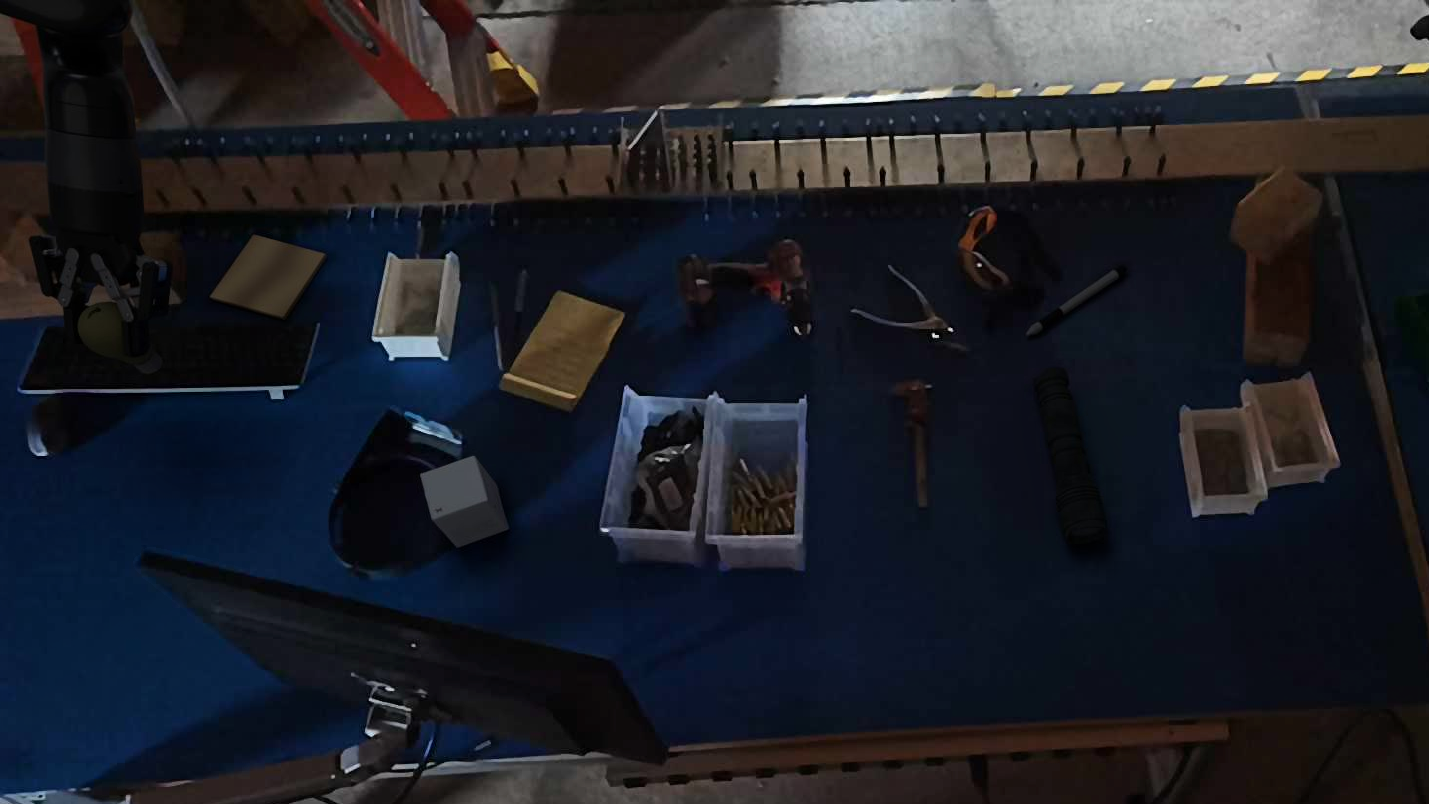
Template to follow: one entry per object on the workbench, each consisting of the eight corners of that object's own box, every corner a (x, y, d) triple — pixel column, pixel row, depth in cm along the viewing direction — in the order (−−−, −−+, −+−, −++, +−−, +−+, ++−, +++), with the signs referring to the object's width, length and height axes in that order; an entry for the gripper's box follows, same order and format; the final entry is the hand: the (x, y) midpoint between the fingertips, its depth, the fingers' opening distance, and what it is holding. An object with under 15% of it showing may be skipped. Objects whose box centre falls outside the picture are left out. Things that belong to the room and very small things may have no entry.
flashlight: (1061, 548, 125) (1067, 529, 121) (1027, 390, 134) (1031, 367, 129) (1105, 542, 125) (1112, 523, 121) (1068, 385, 134) (1073, 362, 130)
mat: (212, 299, 137) (209, 296, 137) (256, 237, 142) (253, 234, 141) (285, 320, 136) (282, 317, 136) (327, 256, 140) (325, 253, 140)
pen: (1127, 274, 141) (1128, 268, 140) (1027, 343, 137) (1028, 336, 135) (1119, 268, 142) (1121, 261, 140) (1020, 335, 137) (1021, 329, 136)
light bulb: (145, 340, 123) (84, 284, 114) (191, 352, 123) (133, 297, 114) (117, 382, 121) (52, 329, 112) (164, 395, 120) (102, 342, 111)
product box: (511, 530, 125) (488, 501, 118) (456, 549, 124) (430, 521, 117) (498, 485, 127) (474, 453, 121) (444, 503, 126) (417, 473, 120)
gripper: (-7, 166, 107) (11, 340, 113) (130, 197, 105) (142, 371, 111) (62, 164, 114) (77, 328, 120) (192, 193, 112) (200, 357, 118)
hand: (108, 348), depth 115 cm, fingers closed on light bulb, 5 cm apart
